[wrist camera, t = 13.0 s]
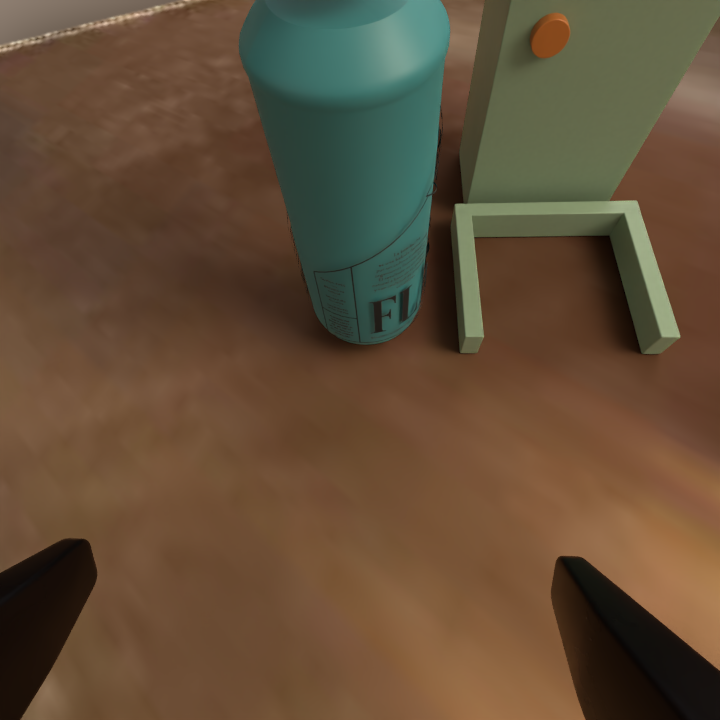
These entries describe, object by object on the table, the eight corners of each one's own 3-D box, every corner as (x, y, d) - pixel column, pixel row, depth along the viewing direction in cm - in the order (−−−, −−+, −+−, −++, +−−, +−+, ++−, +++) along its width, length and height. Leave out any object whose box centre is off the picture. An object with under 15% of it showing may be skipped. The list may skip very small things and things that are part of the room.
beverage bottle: (374, 382, 25) (336, -130, 7) (291, 318, 27) (93, -199, 9) (443, 306, 27) (560, -254, 9) (361, 252, 29) (315, -285, 11)
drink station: (660, 354, 24) (1051, 42, 10) (459, 353, 25) (555, 61, 11) (598, 144, 32) (772, -211, 17) (444, 148, 32) (490, -189, 18)
